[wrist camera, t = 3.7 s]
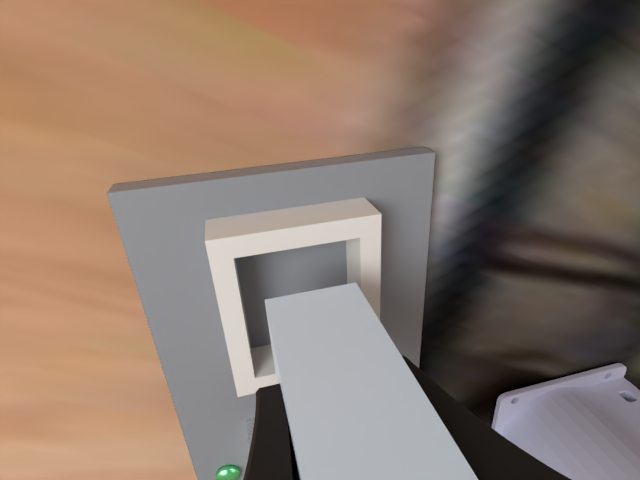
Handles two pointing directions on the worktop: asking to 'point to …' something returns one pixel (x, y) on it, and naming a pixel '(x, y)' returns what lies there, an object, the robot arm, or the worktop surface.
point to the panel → (262, 273)
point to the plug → (353, 394)
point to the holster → (276, 235)
